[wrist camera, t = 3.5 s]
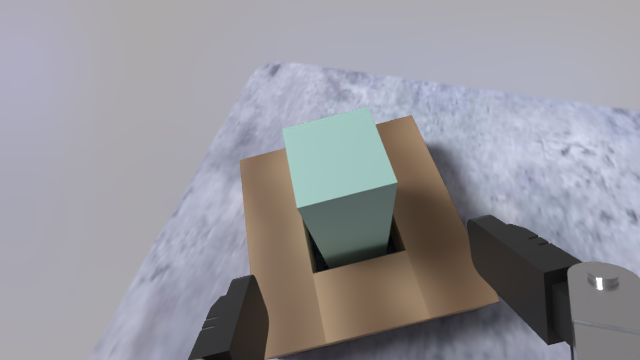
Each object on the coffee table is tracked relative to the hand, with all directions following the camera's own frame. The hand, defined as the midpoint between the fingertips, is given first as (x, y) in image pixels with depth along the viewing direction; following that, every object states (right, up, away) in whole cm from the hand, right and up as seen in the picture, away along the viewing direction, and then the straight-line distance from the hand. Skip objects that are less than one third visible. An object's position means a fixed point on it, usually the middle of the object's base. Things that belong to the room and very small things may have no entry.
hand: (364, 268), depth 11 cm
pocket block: (+1, -1, +11) cm, 11 cm away
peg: (+1, -1, +11) cm, 11 cm away
